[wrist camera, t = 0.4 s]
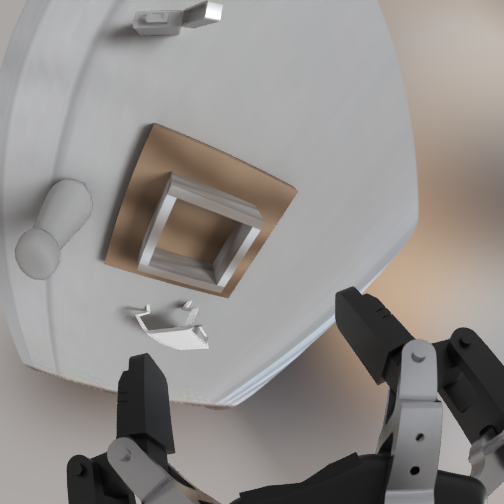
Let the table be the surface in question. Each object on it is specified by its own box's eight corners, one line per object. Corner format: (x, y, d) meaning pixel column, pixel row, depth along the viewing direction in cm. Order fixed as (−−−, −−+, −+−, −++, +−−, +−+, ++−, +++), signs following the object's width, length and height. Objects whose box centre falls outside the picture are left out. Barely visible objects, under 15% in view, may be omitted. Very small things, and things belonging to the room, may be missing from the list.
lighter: (139, 36, 18) (124, 19, 12) (141, 21, 17) (128, 0, 11) (209, 36, 20) (221, 19, 14) (211, 22, 19) (224, 1, 13)
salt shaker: (56, 216, 27) (13, 288, 16) (53, 172, 24) (-3, 231, 13) (97, 218, 29) (67, 294, 18) (97, 173, 26) (56, 235, 15)
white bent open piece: (216, 297, 41) (222, 321, 37) (204, 331, 45) (209, 355, 41) (136, 289, 36) (134, 315, 32) (134, 326, 40) (133, 351, 36)
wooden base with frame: (154, 122, 24) (149, 131, 20) (293, 186, 33) (312, 206, 29) (106, 256, 32) (98, 285, 27) (226, 291, 40) (233, 318, 36)
